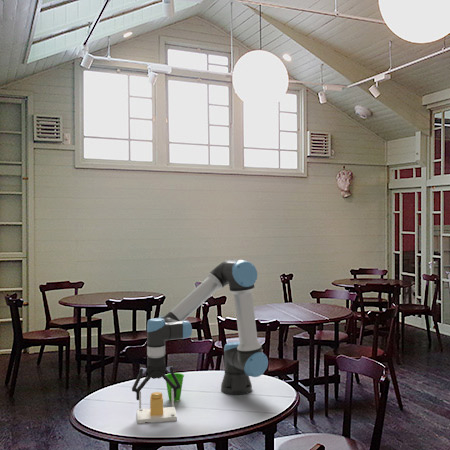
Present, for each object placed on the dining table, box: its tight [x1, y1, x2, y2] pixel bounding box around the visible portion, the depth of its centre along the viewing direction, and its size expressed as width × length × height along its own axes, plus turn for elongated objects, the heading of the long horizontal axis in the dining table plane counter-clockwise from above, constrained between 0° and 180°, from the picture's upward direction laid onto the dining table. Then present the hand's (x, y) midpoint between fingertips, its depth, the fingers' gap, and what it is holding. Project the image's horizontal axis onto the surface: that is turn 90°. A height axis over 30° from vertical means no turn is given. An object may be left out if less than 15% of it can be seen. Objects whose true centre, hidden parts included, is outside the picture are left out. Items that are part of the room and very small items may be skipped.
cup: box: [165, 372, 185, 402], centre depth 227 cm, size 9×9×11 cm
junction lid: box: [136, 406, 178, 424], centre depth 206 cm, size 16×12×6 cm
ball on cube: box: [149, 391, 164, 416], centre depth 206 cm, size 5×5×8 cm
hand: (156, 406), depth 206 cm, fingers open, 13 cm apart
